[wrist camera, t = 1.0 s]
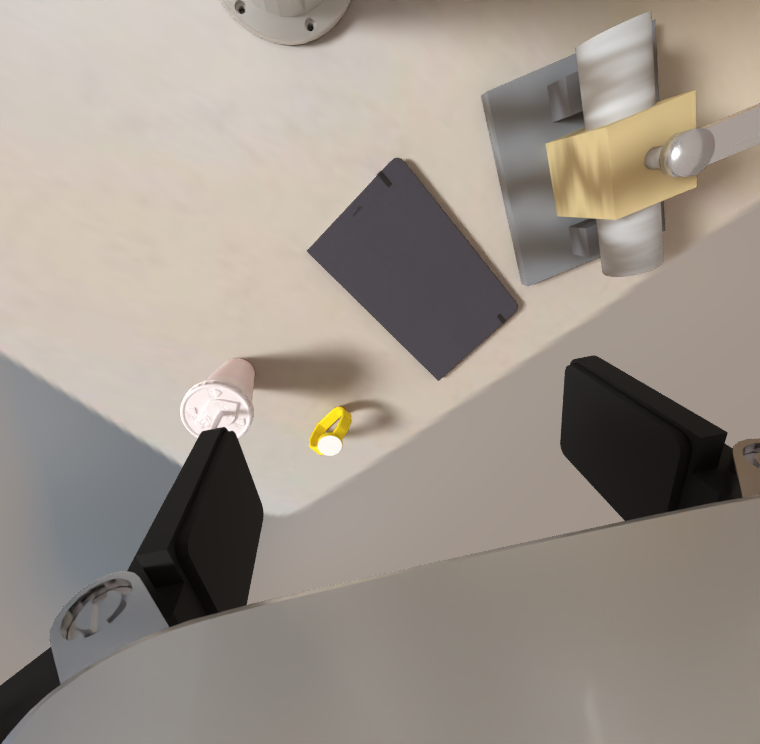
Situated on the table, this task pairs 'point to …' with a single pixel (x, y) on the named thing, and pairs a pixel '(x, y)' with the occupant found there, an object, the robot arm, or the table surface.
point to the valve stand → (588, 156)
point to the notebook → (414, 270)
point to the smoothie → (221, 400)
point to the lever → (709, 143)
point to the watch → (332, 440)
